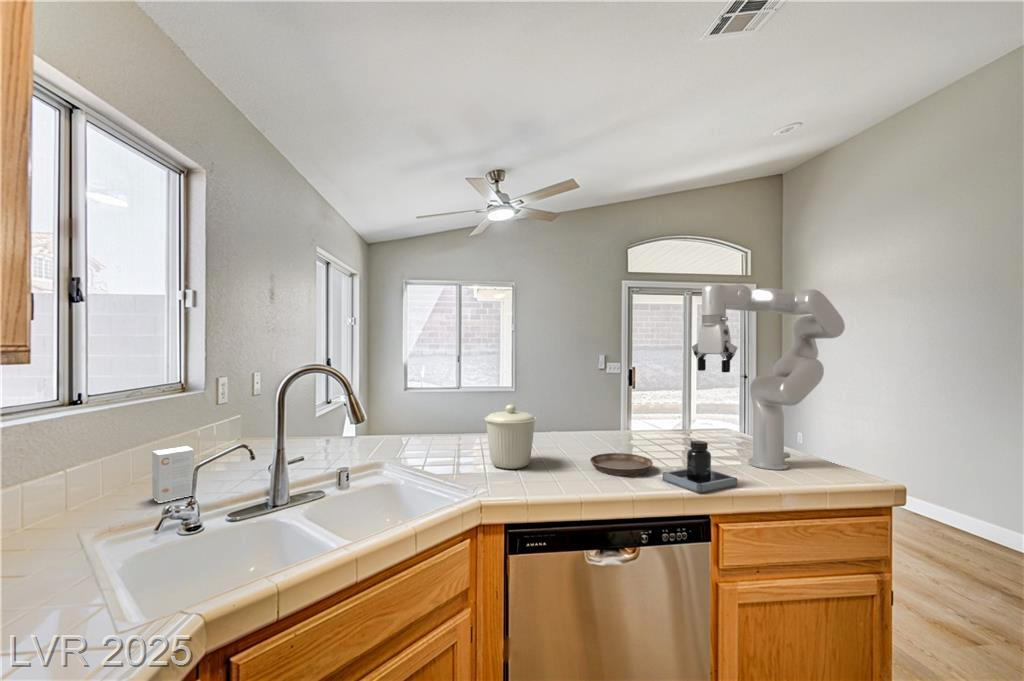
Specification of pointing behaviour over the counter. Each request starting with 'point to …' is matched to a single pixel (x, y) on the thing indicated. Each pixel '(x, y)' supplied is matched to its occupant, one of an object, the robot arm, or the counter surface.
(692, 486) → the tray
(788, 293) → the robot arm
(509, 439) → the canister
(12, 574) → the counter surface
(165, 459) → the small box
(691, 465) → the supplement bottle
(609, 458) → the plant saucer
